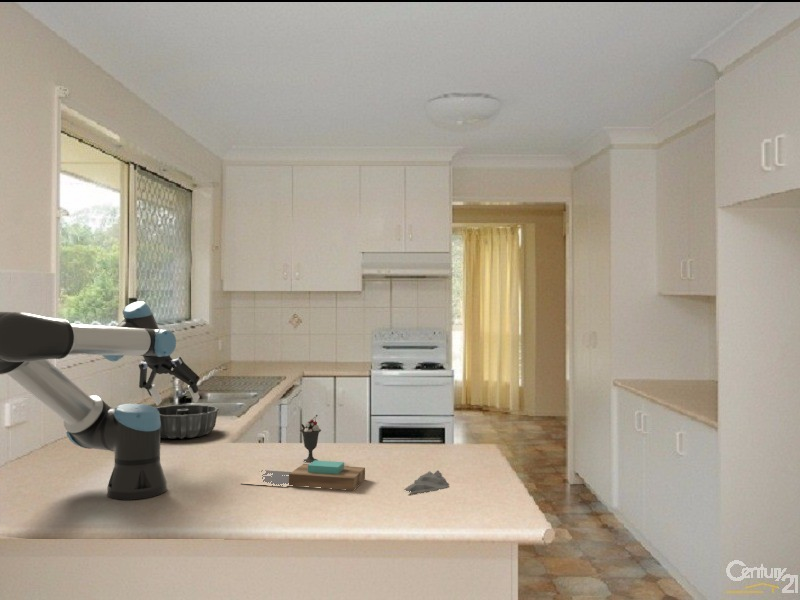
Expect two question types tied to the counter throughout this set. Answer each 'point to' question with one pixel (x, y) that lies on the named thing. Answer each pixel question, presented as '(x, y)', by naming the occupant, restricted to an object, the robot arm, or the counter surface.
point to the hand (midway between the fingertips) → (178, 401)
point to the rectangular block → (326, 467)
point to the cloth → (428, 483)
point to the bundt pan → (187, 420)
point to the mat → (276, 477)
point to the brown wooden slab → (328, 478)
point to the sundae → (310, 437)
